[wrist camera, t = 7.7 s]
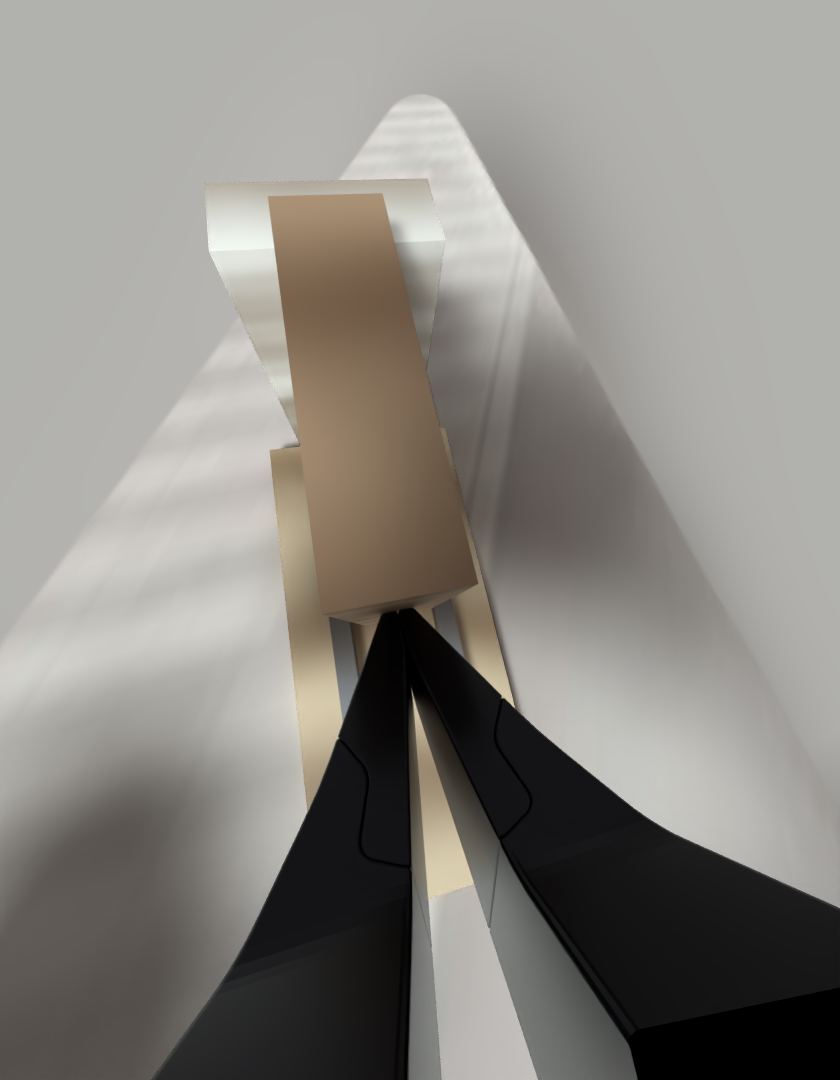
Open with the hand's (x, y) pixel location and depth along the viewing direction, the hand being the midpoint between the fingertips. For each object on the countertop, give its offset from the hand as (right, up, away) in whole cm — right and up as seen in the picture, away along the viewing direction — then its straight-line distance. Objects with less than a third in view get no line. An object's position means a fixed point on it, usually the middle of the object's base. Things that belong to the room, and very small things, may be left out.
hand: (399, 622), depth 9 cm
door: (-1, +3, +7) cm, 8 cm away
